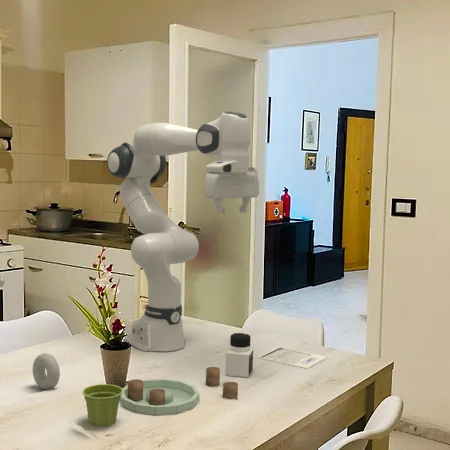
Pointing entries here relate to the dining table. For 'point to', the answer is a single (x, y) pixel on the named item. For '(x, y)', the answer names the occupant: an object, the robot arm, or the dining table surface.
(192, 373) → the dining table surface
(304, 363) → the photo frame
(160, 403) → the seated bead
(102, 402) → the plant pot
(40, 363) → the donut
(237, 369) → the medicine bottle
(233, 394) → the loose bead
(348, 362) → the dining table surface
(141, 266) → the robot arm
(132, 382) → the seated bead
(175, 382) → the tray
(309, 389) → the dining table surface
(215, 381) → the wooden cylinder
